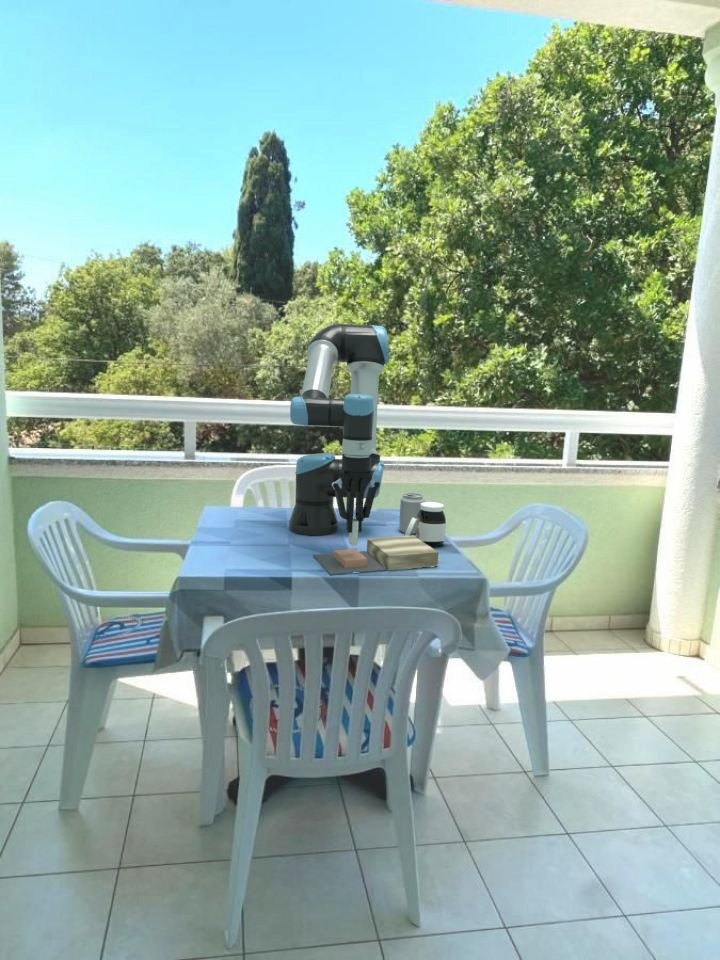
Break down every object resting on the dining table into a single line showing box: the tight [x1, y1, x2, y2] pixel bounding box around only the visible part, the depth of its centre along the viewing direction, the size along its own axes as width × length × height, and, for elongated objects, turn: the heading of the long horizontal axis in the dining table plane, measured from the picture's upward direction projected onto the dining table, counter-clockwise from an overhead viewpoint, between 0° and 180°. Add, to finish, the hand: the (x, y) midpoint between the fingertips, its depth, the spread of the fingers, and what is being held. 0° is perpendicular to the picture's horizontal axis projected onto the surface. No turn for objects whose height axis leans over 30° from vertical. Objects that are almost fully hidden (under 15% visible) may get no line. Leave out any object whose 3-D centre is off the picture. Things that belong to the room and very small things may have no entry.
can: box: [398, 492, 426, 535], centre depth 209 cm, size 8×8×12 cm
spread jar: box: [403, 501, 447, 547], centre depth 199 cm, size 12×11×12 cm
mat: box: [312, 550, 388, 576], centre depth 177 cm, size 16×15×1 cm
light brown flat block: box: [333, 548, 367, 568], centre depth 177 cm, size 9×6×2 cm, turn 20°
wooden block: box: [366, 535, 439, 572], centre depth 182 cm, size 16×14×4 cm
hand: (353, 544), depth 177 cm, fingers closed
